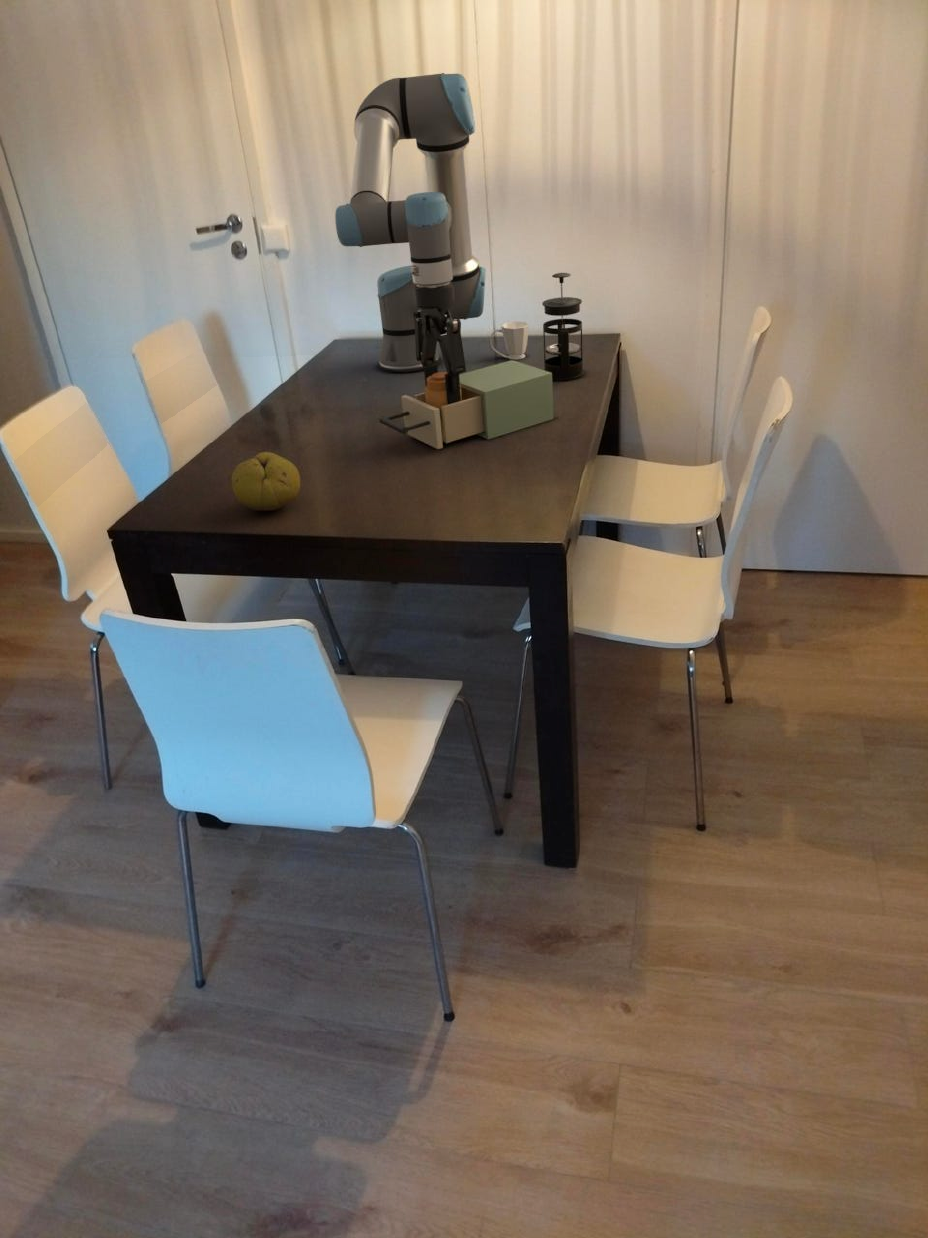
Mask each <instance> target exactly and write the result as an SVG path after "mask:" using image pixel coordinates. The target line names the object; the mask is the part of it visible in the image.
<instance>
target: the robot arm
mask: <svg viewBox="0 0 928 1238" xmlns="http://www.w3.org/2000/svg"><path fill="white" fill-rule="evenodd" d="M469 88H470V87H469V86H468V82H467V80H466V78H465V76H464V75H462V74H461V73H445V72H442V73H441V72H440V73H434V74H426V75H425V74H423V75H416V76H415V75H414V76H410V77H409V76H408V77H394V78H390V79H387V80H385V81H383V82H382V83H380V84H378V85H377V86H376V87H375V88H373V89H372V90H371V91H370V92H369V94H367V96H366V97H365V98H364V100H362V103H361V104H360V105H359V107H358V110H357V112H356V114H355V117H354V123H353V135H354V138H355V141H356V149H355V156H354V164H353V171H352V172H353V173H352V181H351V189H350V197H349V203H346V204H342V205H339V206H338V207H336V209H335V213H334V218H335V219H334V220H335V229H336V234H337V238H338V241H339V243H340V244H341V245H342V246H344V247H359V248H364V247H370V246H379V245H381V246H382V245H390V244H407V243H408V245H409V254H410V263H411V264H410V265H405V266H400V267H396V268H393V269H390V270H388V271H385V272H384V273H382V274H380V275H379V276H378V278H377V280H376V281H377V283H376V284H377V294H376V295H377V298H378V304H379V312H380V322H381V329H382V342H381V347H380V350H379V351H380V352H379V357H378V358H379V359H378V364H379V368H380V369H381V370H383V371H385V372H389V373H413V372H420V371H423V373H424V382H425V383H424V384H425V387H426V386H427V378H428V377H429V376H432V375H433V374H435V373H439V369H438V364H439V362H440V356H439V352H438V349H437V344H438V345H439V348H440V352H441V355H442V359H443V362H444V367H445V370H446V372H447V374H444V376H445V382H446V393H447V404H448V405H449V404H452V403H456V402H459V401H461V396H460V379H459V375H460V374H463V373H466V371H467V367H466V360H465V354H464V347H463V346H464V345H463V340H462V339H463V338H462V321H461V320H464V321H467V320H468V319H476V318H479V317H481V316H482V315H483V313H484V309H485V308H484V307H485V288H486V287H485V286H486V272H487V271H486V268H485V267H482V266H480V261H479V259H478V258H477V257H476V256H475V255H473V251H472V238H471V228H470V226H471V225H470V214H469V203H468V202H469V201H468V192H467V191H468V190H467V180H466V168H465V167H466V166H465V157H464V151H465V149H466V148H467V147H468V145H469V144H470V136H471V135H473V134H474V133H475V131H476V123H475V116H474V108H473V104H472V97H471V93H470V89H469ZM401 140H415V142H416V148H417V150H418V151H419V152H420V153H422V154H423V155H424V159H425V160H424V161H425V171H426V179H427V188H428V191H425V192H418V193H413V194H410V195H408V196H407V197H406V198H405V199H403V200H390V190H391V178H392V168H393V166H392V165H393V156H394V148H395V147H396V146H397V144H398V141H401Z"/></svg>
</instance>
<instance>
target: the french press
mask: <svg viewBox="0 0 928 1238" xmlns="http://www.w3.org/2000/svg"><path fill="white" fill-rule="evenodd" d="M551 277H552V278H555V279H558V281H559V284H560V297H553V298H549V299H546V300H544V301H542V303H541V304H542V306H543V307H544V314H545V315H548V316H553V317H561V318H558V319H551V320H548V321H545V322H543V324H542V331H543V332H542V333H543V335H542V336H543V363H544V371H548V372H551V373H552V381H554V382H555V381H556V382H564V381H565V382H566V381H567V382H568V381H573V380H577V379H580V378H582V377H583V376H584V373H585V372H584V369H583V367H584V366H583V363H584V362H583V322H582V320H579V319H577V318H564V316H565V317H566V316H572V315H576V314H578V313H579V312H580V311H581V304H582V303H583V301H582V299H581V298H578V297H572V296H571V297H570V296H564V294H563V293H564V291H563V284H564V282H565V281H564V280H565V278H569V277H571V273H568V272H557V273H553V274H552V275H551ZM566 325H572V326H571V327H566ZM553 326H557V328H553ZM578 332H580V344H578V343H575V342H570V334H575V333H578ZM546 334H548V335H557V343H553V344H549V345H547V346H546ZM579 352H580V356H578V355H577V356H576V355H573V354H578V353H579ZM546 354H547V355H551V356H552V357H548V358H546Z"/></svg>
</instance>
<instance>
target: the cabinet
mask: <svg viewBox="0 0 928 1238" xmlns="http://www.w3.org/2000/svg"><path fill="white" fill-rule="evenodd" d="M459 379H460V385H461V387H462V388H464V389H467V390H470V391H472V392H475V393H477V394H480V395H483V407H484V421H485V431H484V432H481V433H478V434H476V436H479V437H482V438H484V439H486V440H490V439H494V438H498V437H500V436H501V437H502V436H504V435H507V434H510V433H513V432H517V431H520V430H523V429H525V428H529V427H532V426H536V425H538V424H542V423H545V422H549V421H552V420H554V394H553V393H554V391H553V380H552V373H551V372H548V371H545V369H541V368H538V367H535V366H532V365H529V364H526V363H523V362H520V361H516V360H514V359H510V360H508V361H504V362H500V363H496V364H492V365H489V366H486V367H482V368H478V369H474V370H470V371H467V372H463V373H460V374H459Z"/></svg>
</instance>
